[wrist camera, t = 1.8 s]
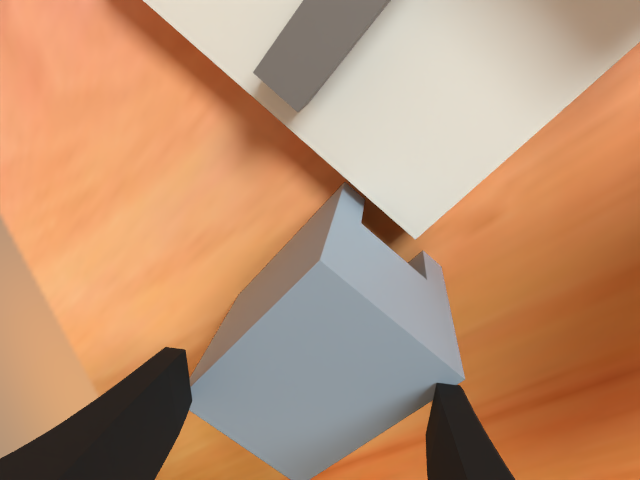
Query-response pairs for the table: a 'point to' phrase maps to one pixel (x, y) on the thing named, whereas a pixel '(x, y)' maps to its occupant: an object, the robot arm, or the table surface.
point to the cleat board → (411, 80)
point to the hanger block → (327, 345)
